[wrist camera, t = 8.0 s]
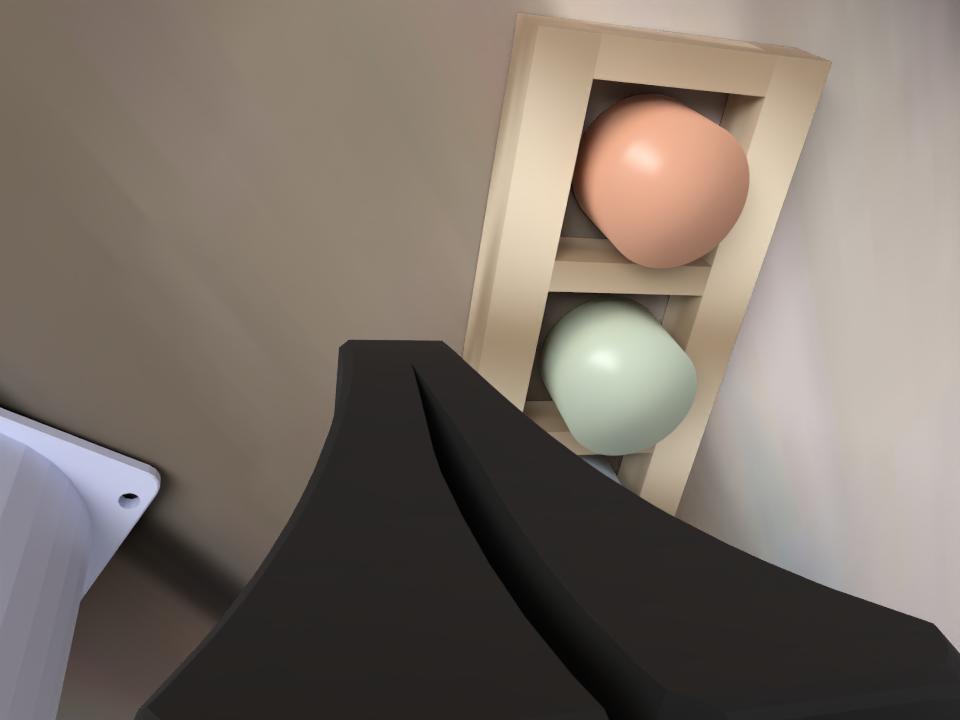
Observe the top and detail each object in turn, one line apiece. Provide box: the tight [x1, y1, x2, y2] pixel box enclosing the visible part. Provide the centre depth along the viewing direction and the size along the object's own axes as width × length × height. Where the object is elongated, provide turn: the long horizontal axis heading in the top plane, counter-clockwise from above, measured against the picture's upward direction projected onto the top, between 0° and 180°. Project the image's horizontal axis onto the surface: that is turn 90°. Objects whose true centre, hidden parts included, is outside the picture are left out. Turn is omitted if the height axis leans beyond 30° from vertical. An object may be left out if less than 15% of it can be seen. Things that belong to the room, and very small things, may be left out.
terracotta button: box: [572, 94, 750, 268], centre depth 19 cm, size 3×3×2 cm
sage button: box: [539, 297, 697, 456], centre depth 21 cm, size 3×3×2 cm
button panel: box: [462, 13, 832, 517], centre depth 22 cm, size 16×7×2 cm, turn 171°
